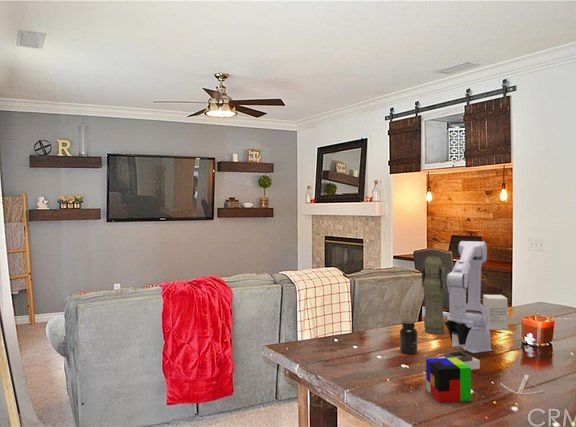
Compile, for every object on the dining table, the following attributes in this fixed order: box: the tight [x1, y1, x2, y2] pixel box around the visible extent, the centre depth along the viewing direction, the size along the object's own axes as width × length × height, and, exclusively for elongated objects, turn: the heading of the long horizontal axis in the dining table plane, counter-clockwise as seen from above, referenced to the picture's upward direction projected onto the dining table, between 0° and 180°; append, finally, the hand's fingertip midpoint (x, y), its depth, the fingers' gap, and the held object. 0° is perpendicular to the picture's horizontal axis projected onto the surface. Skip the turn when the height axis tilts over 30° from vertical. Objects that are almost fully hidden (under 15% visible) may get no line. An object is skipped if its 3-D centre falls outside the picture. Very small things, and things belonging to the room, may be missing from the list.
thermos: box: [421, 255, 447, 335], centre depth 221 cm, size 9×12×35 cm
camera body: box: [437, 350, 481, 371], centre depth 173 cm, size 12×8×4 cm, turn 107°
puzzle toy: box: [425, 357, 472, 403], centre depth 148 cm, size 10×10×10 cm
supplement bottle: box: [399, 320, 418, 355], centre depth 192 cm, size 7×7×12 cm
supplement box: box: [482, 294, 509, 331], centre depth 226 cm, size 9×9×15 cm
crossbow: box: [499, 374, 545, 396], centre depth 154 cm, size 16×13×2 cm
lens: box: [451, 330, 465, 351], centre depth 173 cm, size 4×4×6 cm
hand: (458, 342), depth 173 cm, fingers closed on lens, 4 cm apart
